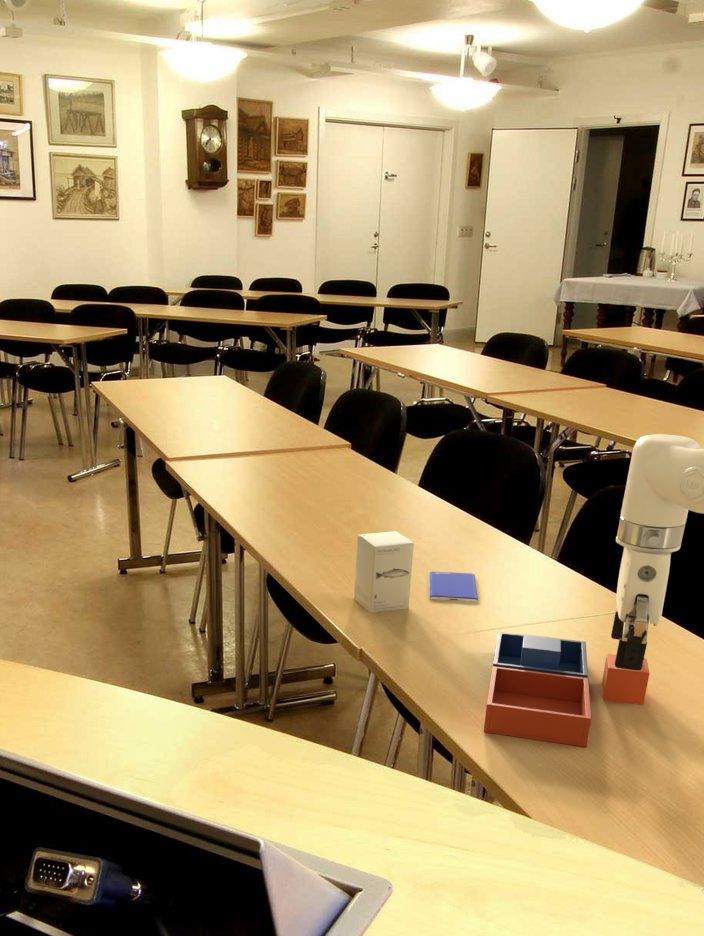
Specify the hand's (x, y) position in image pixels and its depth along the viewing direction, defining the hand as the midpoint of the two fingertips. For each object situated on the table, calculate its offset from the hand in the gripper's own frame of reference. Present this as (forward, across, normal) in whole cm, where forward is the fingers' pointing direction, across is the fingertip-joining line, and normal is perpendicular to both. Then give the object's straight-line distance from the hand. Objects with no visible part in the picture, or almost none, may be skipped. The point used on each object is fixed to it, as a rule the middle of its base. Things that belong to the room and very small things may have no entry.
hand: (625, 653), depth 124 cm
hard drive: (+7, +34, +26) cm, 44 cm away
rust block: (+6, 0, -1) cm, 6 cm away
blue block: (+6, +2, +10) cm, 12 cm away
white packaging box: (+7, +24, +36) cm, 44 cm away
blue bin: (+6, +2, +10) cm, 12 cm away
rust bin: (+6, -11, +10) cm, 16 cm away
